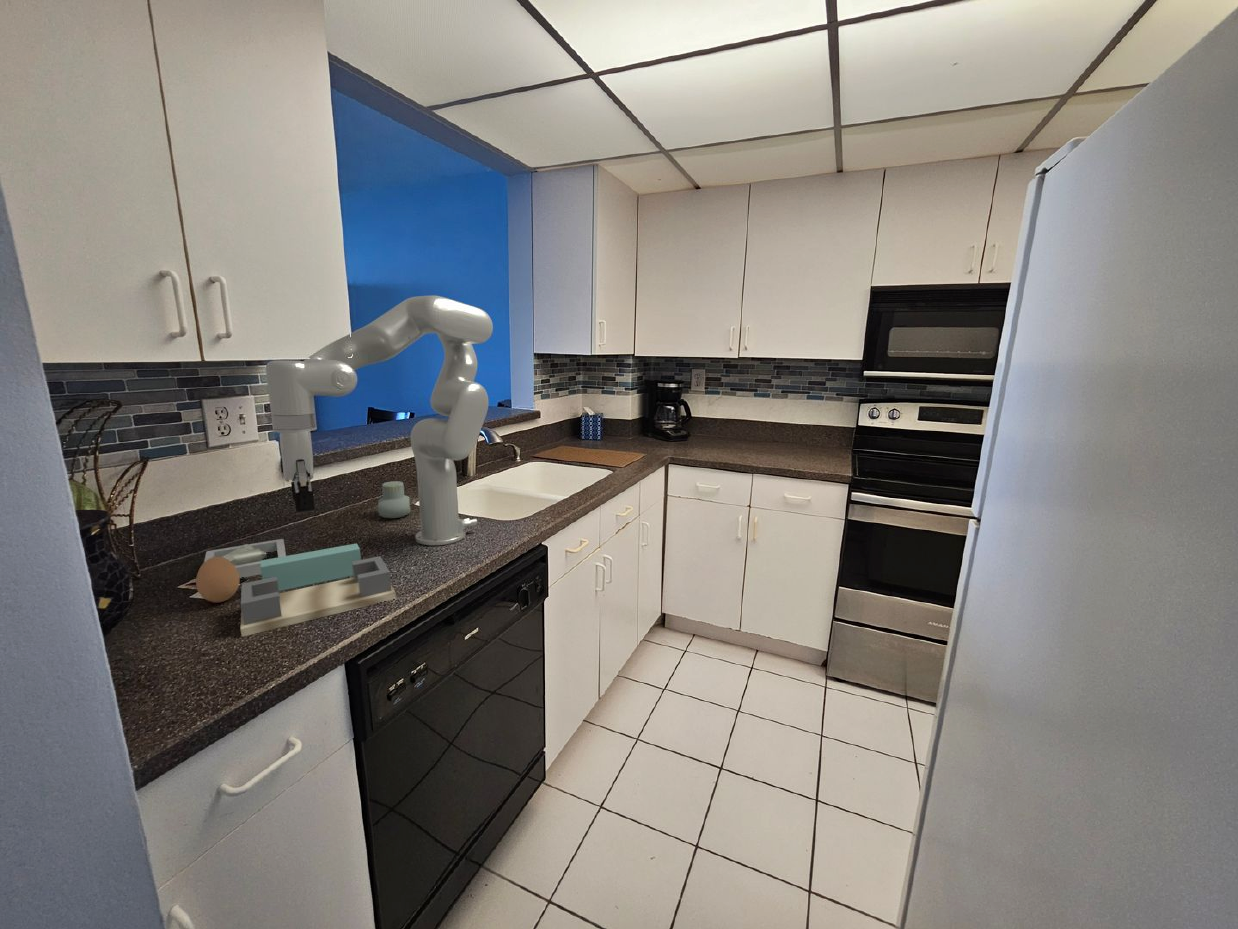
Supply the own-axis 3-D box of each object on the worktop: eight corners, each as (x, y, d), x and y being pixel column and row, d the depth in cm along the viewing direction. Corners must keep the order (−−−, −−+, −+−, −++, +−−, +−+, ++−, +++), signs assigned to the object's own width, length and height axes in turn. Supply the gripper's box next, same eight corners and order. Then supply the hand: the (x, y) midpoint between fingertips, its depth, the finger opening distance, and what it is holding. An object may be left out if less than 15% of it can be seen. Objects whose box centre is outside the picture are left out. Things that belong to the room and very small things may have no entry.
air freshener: (381, 511, 157) (378, 480, 155) (410, 509, 160) (408, 478, 158) (378, 522, 147) (375, 489, 145) (409, 519, 150) (407, 486, 148)
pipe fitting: (269, 560, 122) (240, 558, 121) (269, 545, 121) (239, 543, 121) (247, 574, 114) (215, 572, 114) (246, 558, 113) (214, 556, 113)
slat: (359, 568, 117) (357, 543, 116) (362, 574, 114) (359, 549, 113) (264, 587, 107) (260, 560, 106) (264, 594, 104) (260, 567, 103)
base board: (383, 577, 112) (383, 571, 112) (396, 599, 102) (395, 592, 102) (242, 608, 98) (241, 601, 98) (241, 637, 88) (240, 629, 88)
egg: (244, 590, 105) (237, 548, 103) (240, 604, 100) (233, 560, 98) (203, 598, 102) (195, 555, 100) (197, 612, 96) (188, 567, 94)
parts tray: (284, 548, 128) (283, 538, 127) (287, 569, 116) (286, 558, 115) (208, 561, 119) (206, 551, 119) (203, 585, 107) (201, 574, 107)
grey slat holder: (381, 573, 110) (380, 556, 110) (391, 590, 103) (389, 571, 102) (244, 603, 97) (241, 583, 96) (244, 625, 89) (240, 604, 88)
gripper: (271, 419, 108) (280, 497, 111) (273, 429, 94) (284, 518, 98) (312, 417, 112) (320, 493, 116) (320, 427, 98) (329, 512, 102)
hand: (303, 504), depth 107 cm, fingers open, 9 cm apart
